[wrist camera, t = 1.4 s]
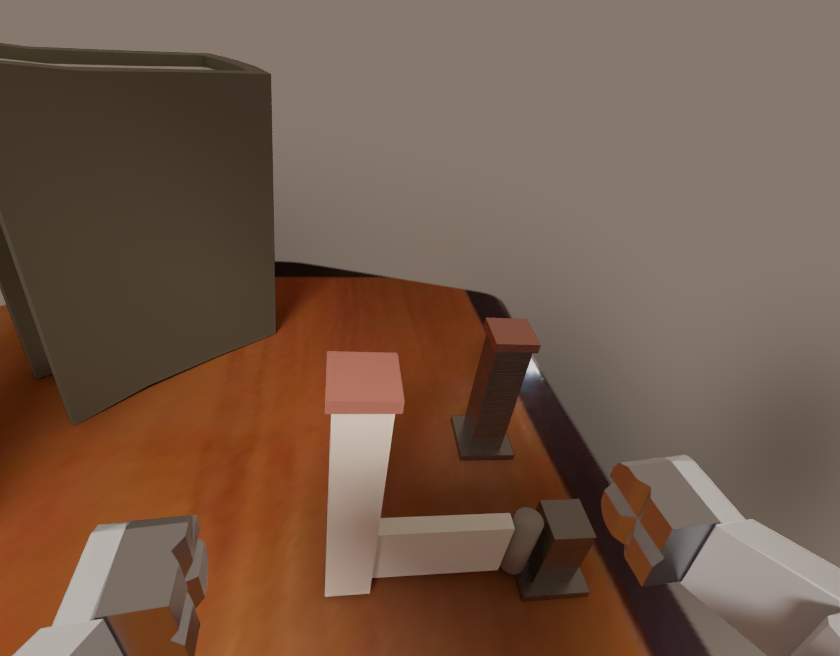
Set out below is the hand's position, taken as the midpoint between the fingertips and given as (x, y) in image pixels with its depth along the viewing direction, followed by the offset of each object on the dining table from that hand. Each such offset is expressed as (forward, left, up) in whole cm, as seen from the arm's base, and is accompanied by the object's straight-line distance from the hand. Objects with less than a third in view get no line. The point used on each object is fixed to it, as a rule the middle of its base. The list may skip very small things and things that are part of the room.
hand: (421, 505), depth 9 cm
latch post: (+13, +25, -26) cm, 38 cm away
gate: (+5, +12, -26) cm, 29 cm away
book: (-18, +38, -26) cm, 50 cm away
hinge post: (+15, +12, -26) cm, 32 cm away
